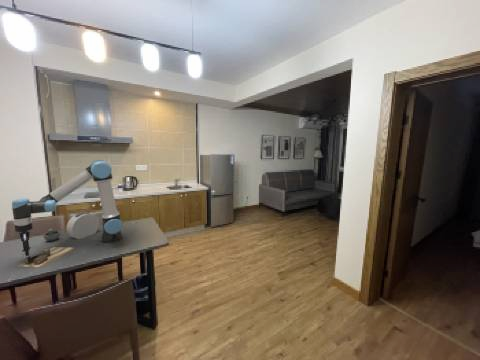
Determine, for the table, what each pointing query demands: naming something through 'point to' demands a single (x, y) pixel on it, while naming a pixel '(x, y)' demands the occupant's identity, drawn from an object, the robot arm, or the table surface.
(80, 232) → the alarm clock
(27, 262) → the latch bar
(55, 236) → the mortar and pestle
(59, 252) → the board
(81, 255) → the table surface
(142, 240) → the table surface
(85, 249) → the table surface
